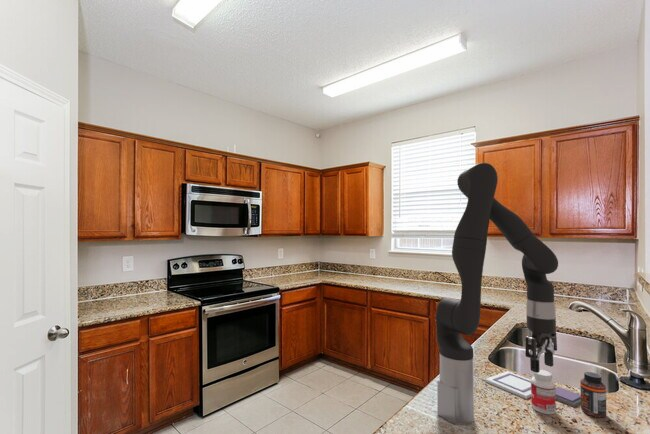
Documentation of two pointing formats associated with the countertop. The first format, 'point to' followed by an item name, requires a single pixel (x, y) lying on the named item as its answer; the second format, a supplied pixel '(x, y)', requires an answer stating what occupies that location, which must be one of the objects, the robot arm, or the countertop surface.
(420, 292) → the countertop surface
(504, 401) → the countertop surface
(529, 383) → the board
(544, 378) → the pill bottle
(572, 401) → the ink pad
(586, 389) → the supplement bottle
